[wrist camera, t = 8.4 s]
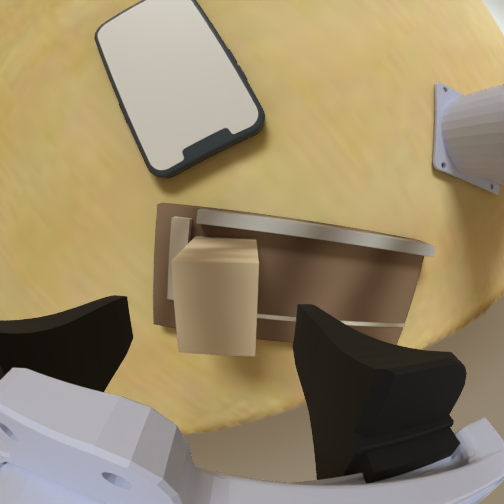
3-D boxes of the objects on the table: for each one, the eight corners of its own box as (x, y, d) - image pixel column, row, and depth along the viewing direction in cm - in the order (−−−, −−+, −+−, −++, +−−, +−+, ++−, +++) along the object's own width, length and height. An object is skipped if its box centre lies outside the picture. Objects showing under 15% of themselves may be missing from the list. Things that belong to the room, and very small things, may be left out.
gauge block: (256, 237, 18) (259, 263, 13) (253, 307, 20) (255, 356, 14) (195, 236, 18) (171, 260, 13) (197, 305, 20) (178, 352, 14)
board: (419, 240, 20) (435, 246, 17) (390, 338, 22) (402, 352, 20) (162, 202, 19) (151, 205, 17) (158, 317, 21) (148, 331, 19)
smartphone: (97, 38, 16) (160, 185, 19) (89, 31, 14) (152, 185, 18) (186, -11, 15) (271, 129, 18) (183, -21, 14) (273, 123, 17)
